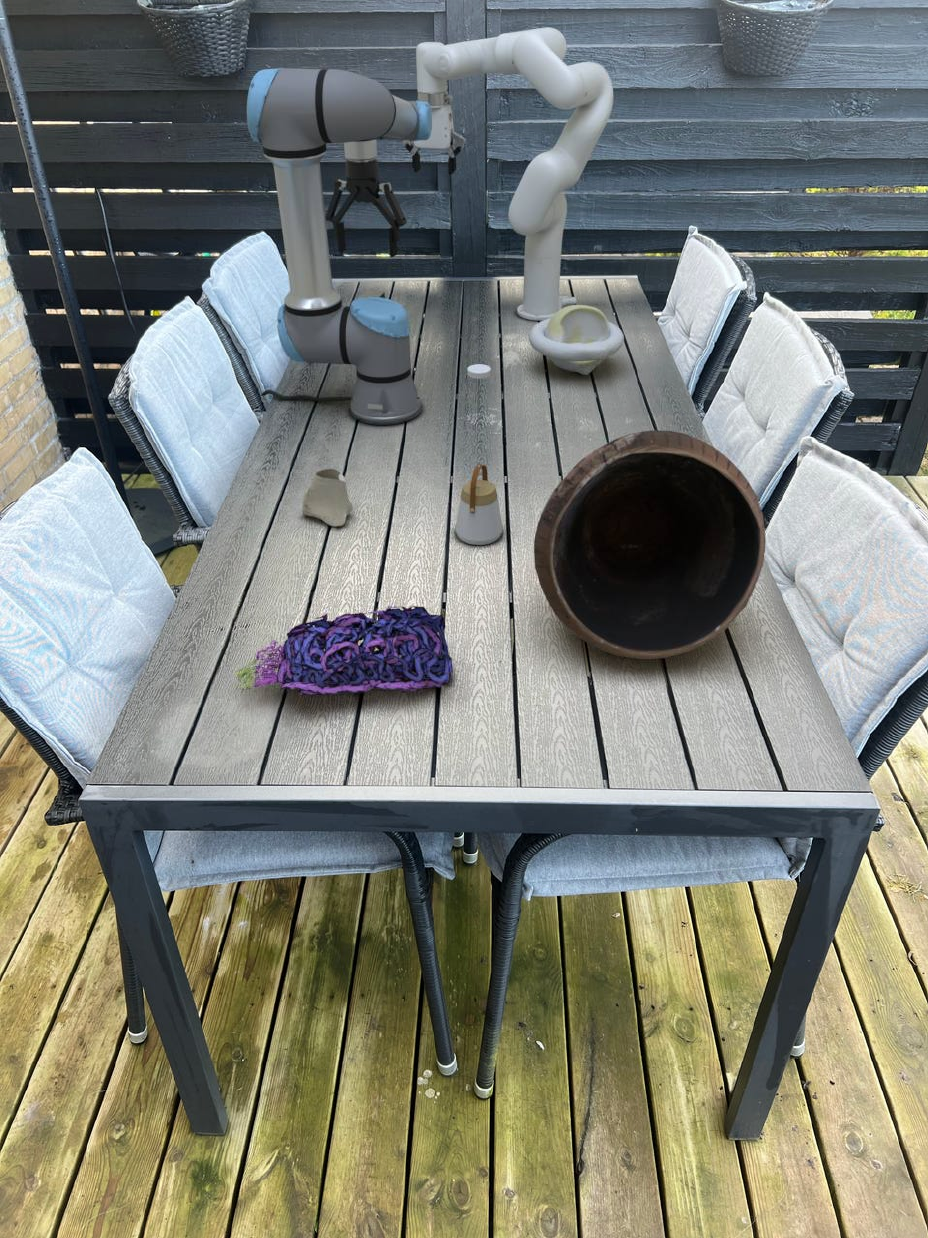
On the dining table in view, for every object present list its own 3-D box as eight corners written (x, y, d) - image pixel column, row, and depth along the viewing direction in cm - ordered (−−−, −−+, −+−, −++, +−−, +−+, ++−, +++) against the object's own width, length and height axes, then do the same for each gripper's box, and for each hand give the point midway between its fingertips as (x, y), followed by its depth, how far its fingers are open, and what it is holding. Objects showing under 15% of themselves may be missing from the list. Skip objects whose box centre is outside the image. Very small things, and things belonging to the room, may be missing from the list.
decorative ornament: (458, 672, 122) (225, 684, 119) (455, 713, 130) (238, 725, 128) (450, 592, 130) (231, 602, 127) (447, 636, 138) (243, 646, 135)
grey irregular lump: (352, 523, 169) (358, 468, 167) (345, 530, 162) (351, 474, 159) (303, 516, 169) (308, 461, 167) (294, 523, 162) (299, 466, 159)
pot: (569, 390, 148) (614, 390, 119) (739, 473, 153) (822, 494, 124) (483, 572, 154) (505, 616, 125) (649, 647, 159) (708, 705, 130)
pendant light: (493, 549, 158) (495, 382, 140) (448, 540, 161) (445, 375, 142) (508, 525, 164) (512, 362, 146) (465, 517, 167) (463, 355, 148)
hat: (520, 351, 228) (521, 289, 219) (607, 347, 230) (612, 285, 221) (537, 392, 209) (540, 327, 200) (632, 387, 211) (639, 322, 202)
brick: (377, 336, 238) (375, 300, 232) (359, 334, 239) (356, 298, 233) (386, 327, 243) (384, 291, 237) (369, 325, 244) (366, 289, 238)
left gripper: (417, 158, 216) (420, 252, 229) (319, 152, 222) (327, 245, 235) (406, 165, 210) (410, 261, 223) (305, 159, 216) (315, 253, 229)
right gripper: (469, 98, 237) (469, 171, 248) (405, 95, 241) (408, 167, 252) (460, 102, 231) (461, 177, 242) (395, 100, 236) (398, 173, 246)
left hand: (367, 253), depth 229 cm, fingers open, 13 cm apart
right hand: (434, 172), depth 247 cm, fingers open, 9 cm apart
